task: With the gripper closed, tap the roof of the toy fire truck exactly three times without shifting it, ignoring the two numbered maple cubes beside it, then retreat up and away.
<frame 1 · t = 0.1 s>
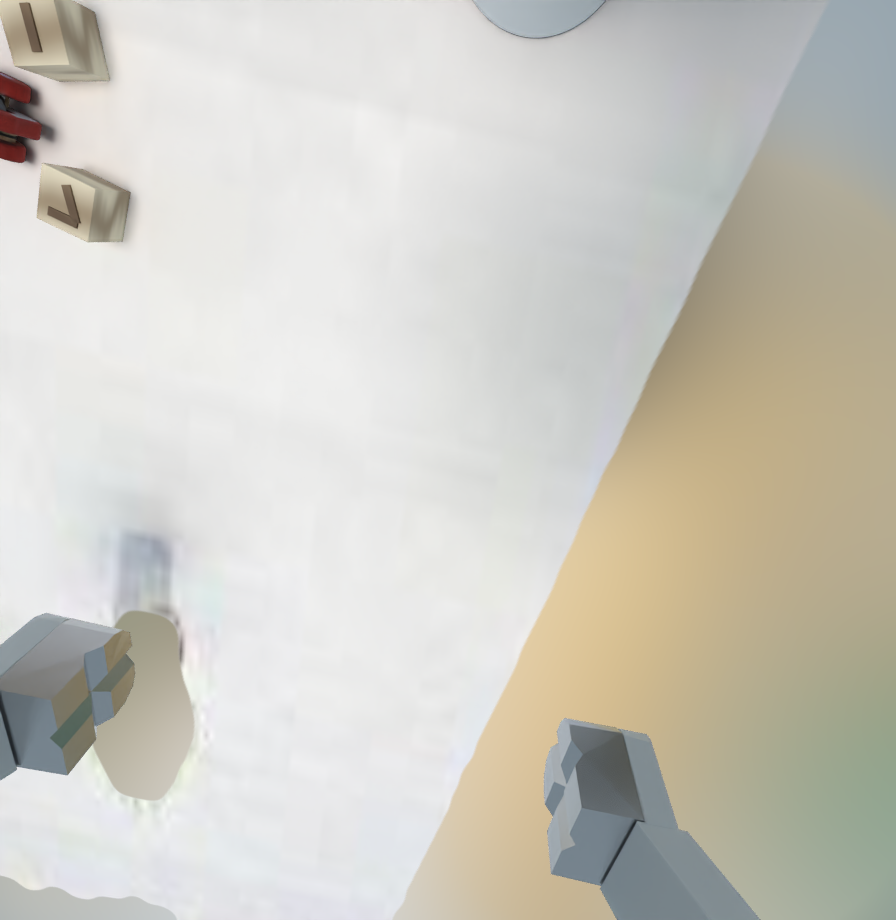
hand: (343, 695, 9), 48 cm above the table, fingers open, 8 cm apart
maple cube seven: (103, 206, 52), on the table
maple cube one: (77, 48, 47), on the table
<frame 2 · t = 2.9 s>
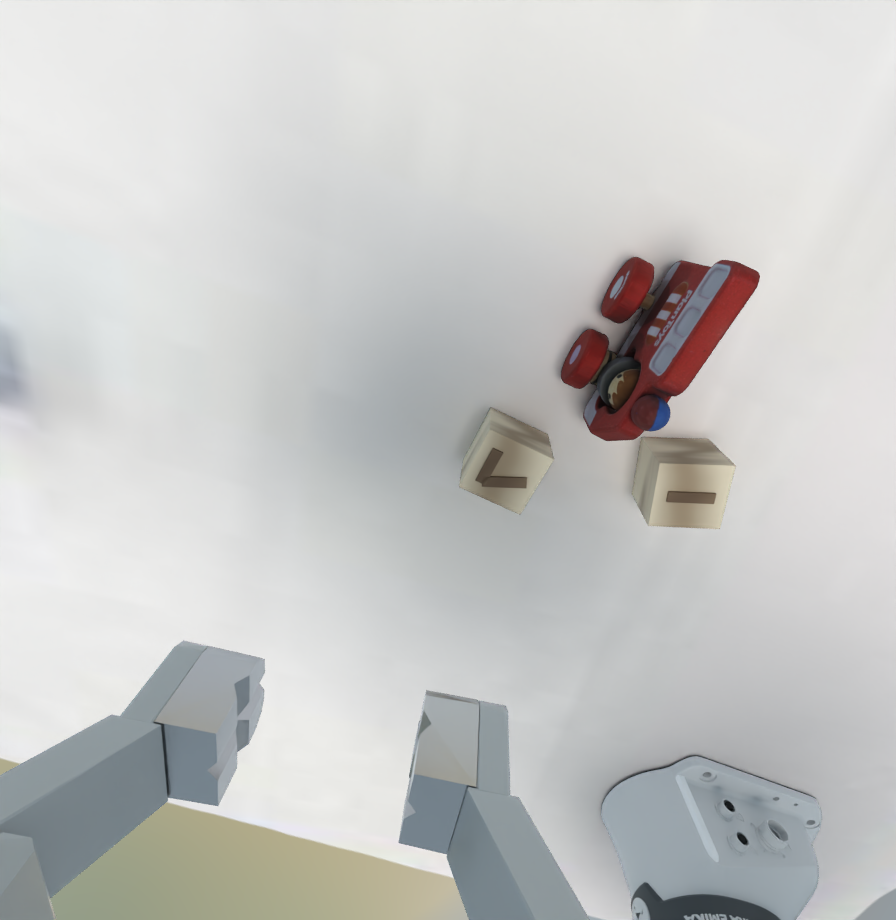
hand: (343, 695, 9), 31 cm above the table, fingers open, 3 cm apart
maple cube seven: (504, 446, 41), on the table
maple cube one: (668, 466, 40), on the table
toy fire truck: (629, 339, 37), on the table
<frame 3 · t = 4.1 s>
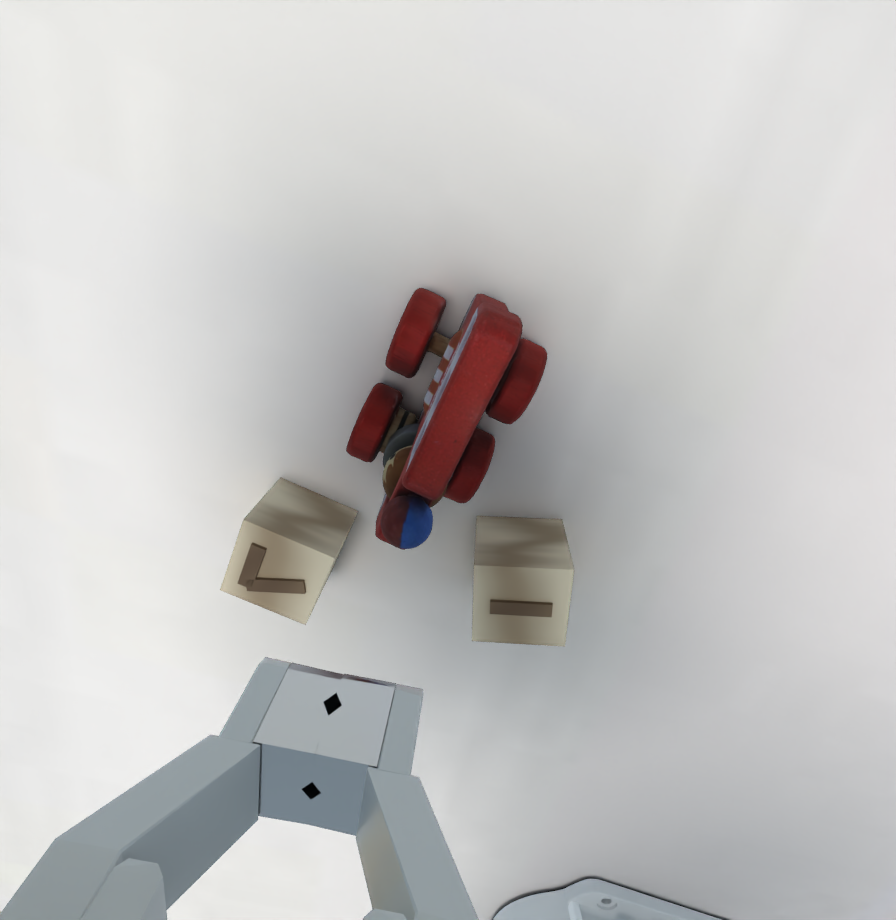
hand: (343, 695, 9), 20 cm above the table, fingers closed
maple cube seven: (307, 525, 32), on the table
maple cube one: (516, 552, 31), on the table
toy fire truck: (445, 393, 28), on the table
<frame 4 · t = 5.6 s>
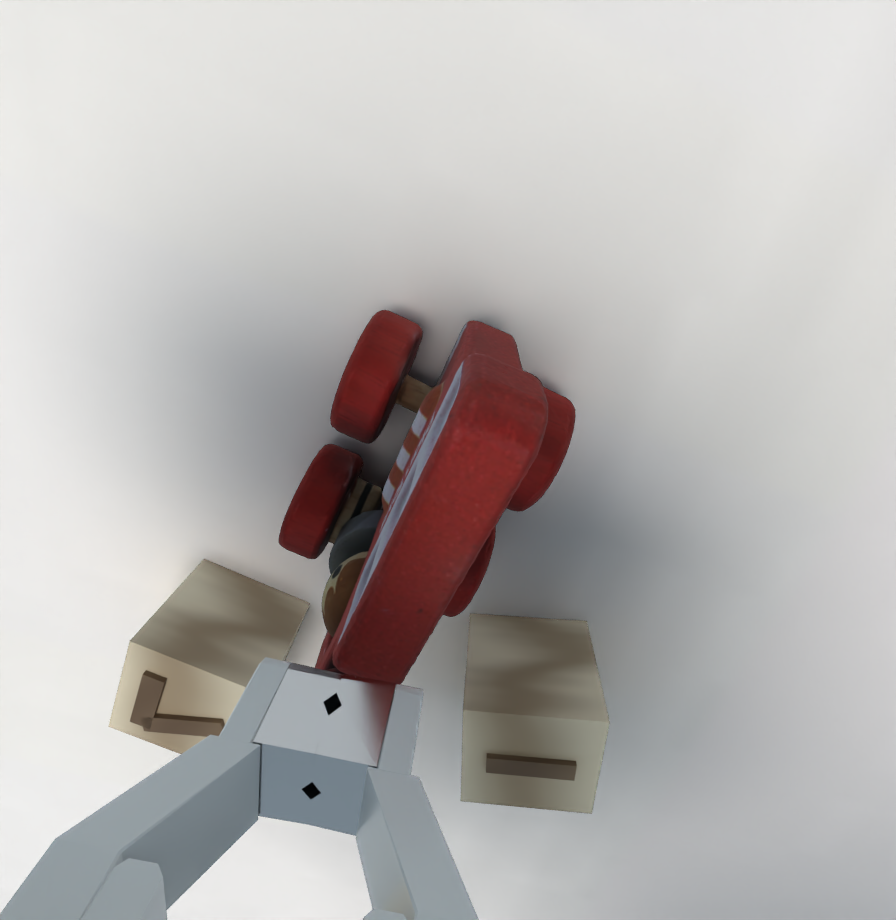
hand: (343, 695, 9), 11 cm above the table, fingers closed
maple cube seven: (243, 618, 24), on the table
maple cube one: (523, 659, 23), on the table
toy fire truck: (426, 453, 19), on the table
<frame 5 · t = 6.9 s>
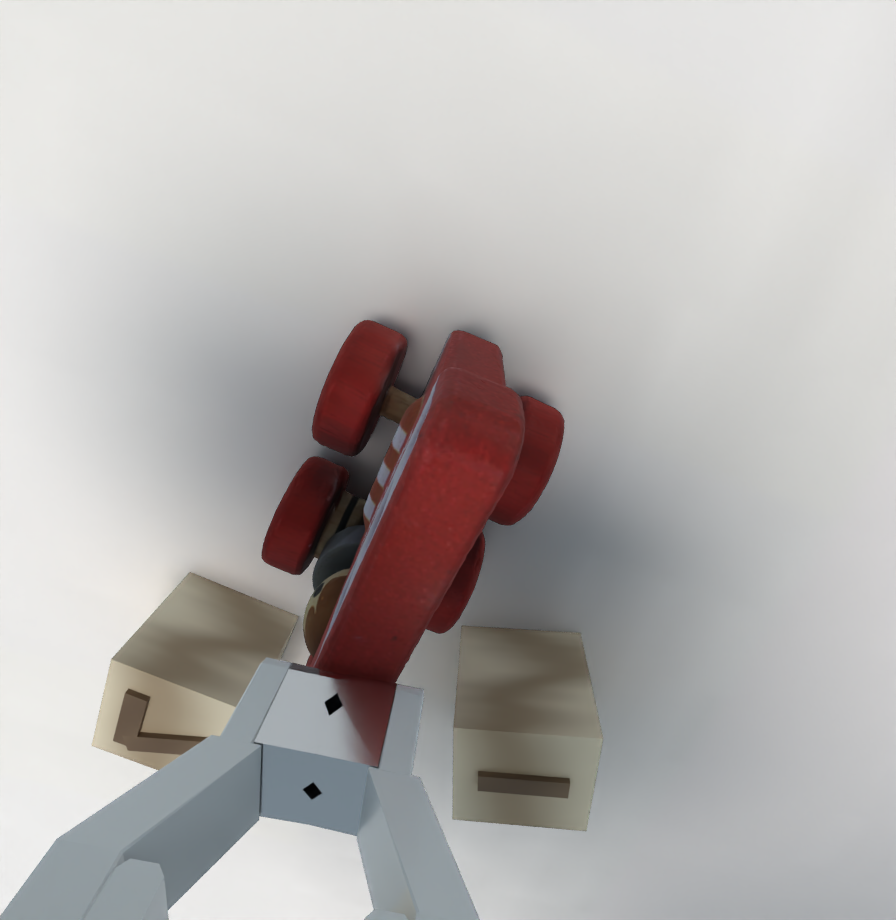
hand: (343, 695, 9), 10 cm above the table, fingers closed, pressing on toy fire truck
maple cube seven: (231, 632, 23), on the table
maple cube one: (517, 671, 23), on the table
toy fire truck: (414, 465, 19), on the table, touching gripper
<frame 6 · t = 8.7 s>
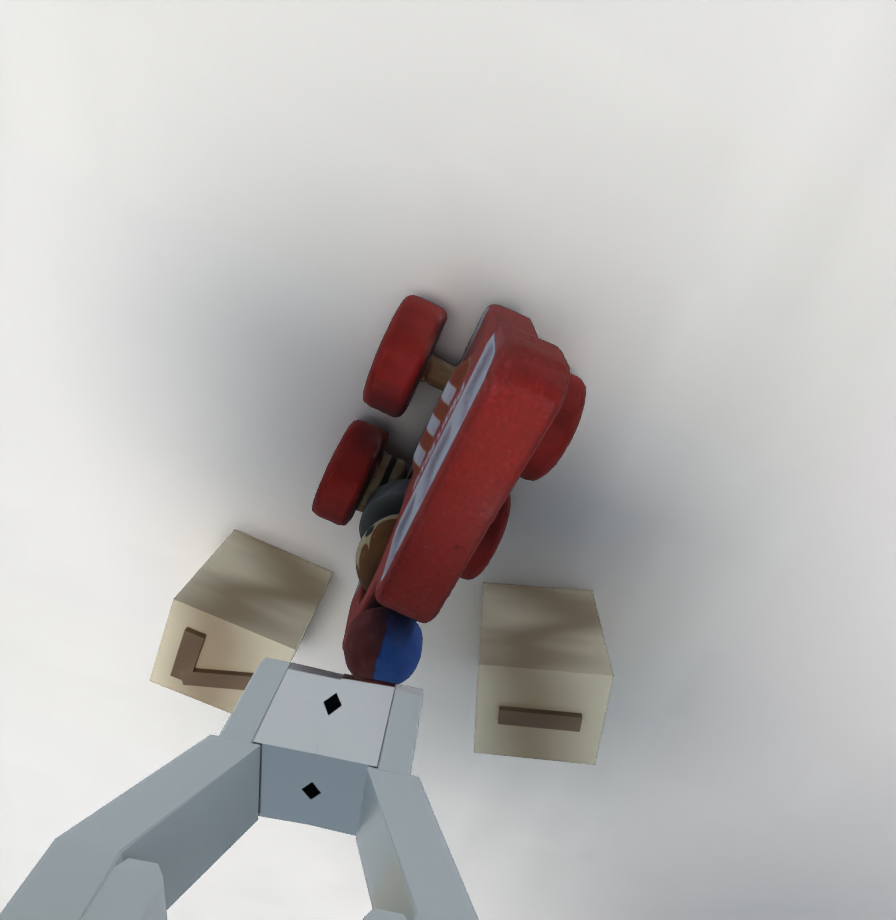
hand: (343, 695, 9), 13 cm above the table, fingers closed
maple cube seven: (270, 587, 25), on the table
maple cube one: (532, 626, 25), on the table
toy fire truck: (445, 431, 21), on the table
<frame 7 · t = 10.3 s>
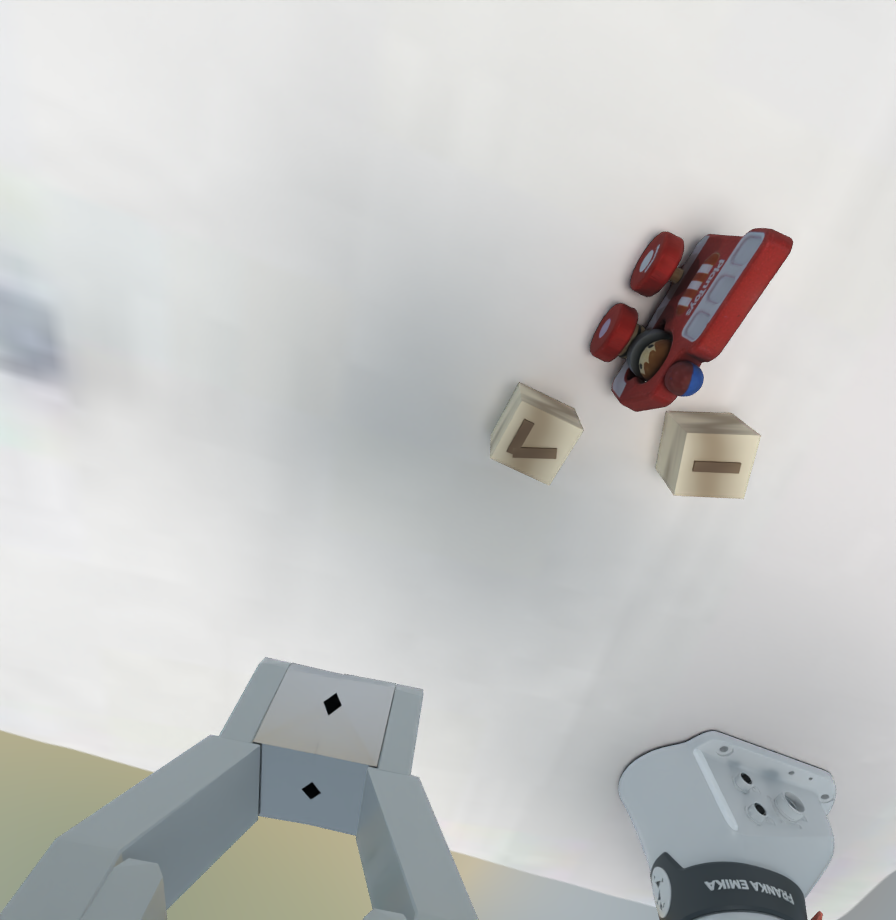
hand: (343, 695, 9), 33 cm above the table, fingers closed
maple cube seven: (531, 421, 42), on the table
maple cube one: (691, 441, 41), on the table
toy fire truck: (656, 314, 38), on the table
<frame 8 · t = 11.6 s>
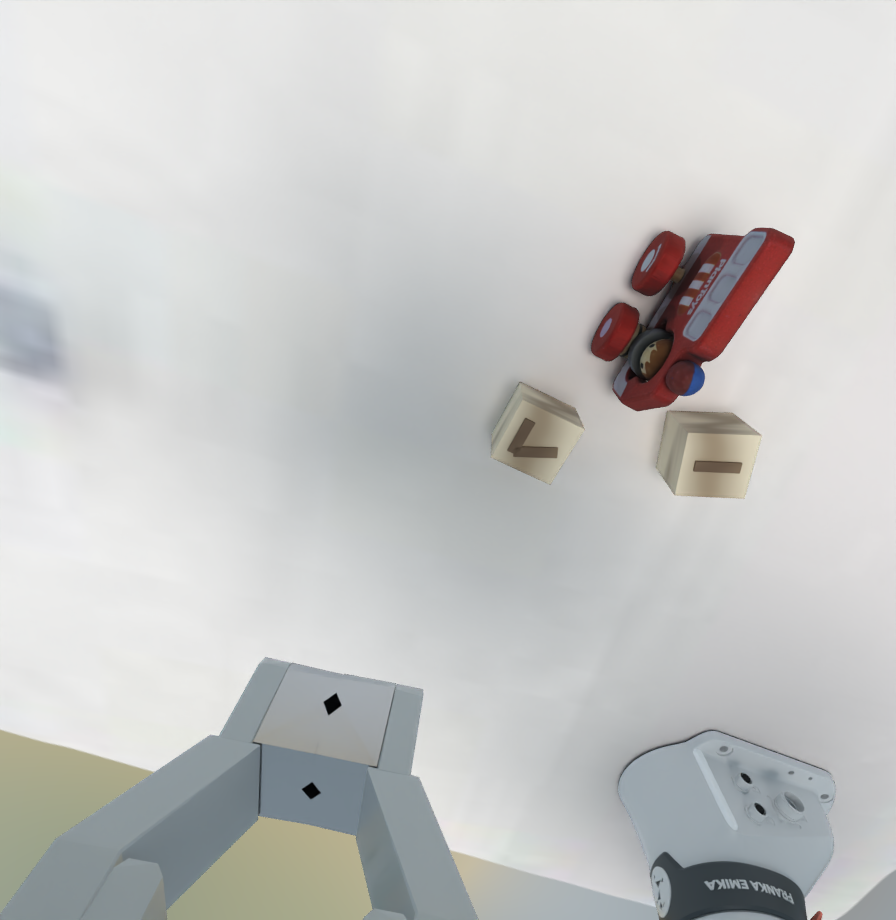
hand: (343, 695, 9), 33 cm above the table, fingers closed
maple cube seven: (532, 421, 42), on the table
maple cube one: (692, 440, 41), on the table
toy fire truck: (657, 314, 38), on the table
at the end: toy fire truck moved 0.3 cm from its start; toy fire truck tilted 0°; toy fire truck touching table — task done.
